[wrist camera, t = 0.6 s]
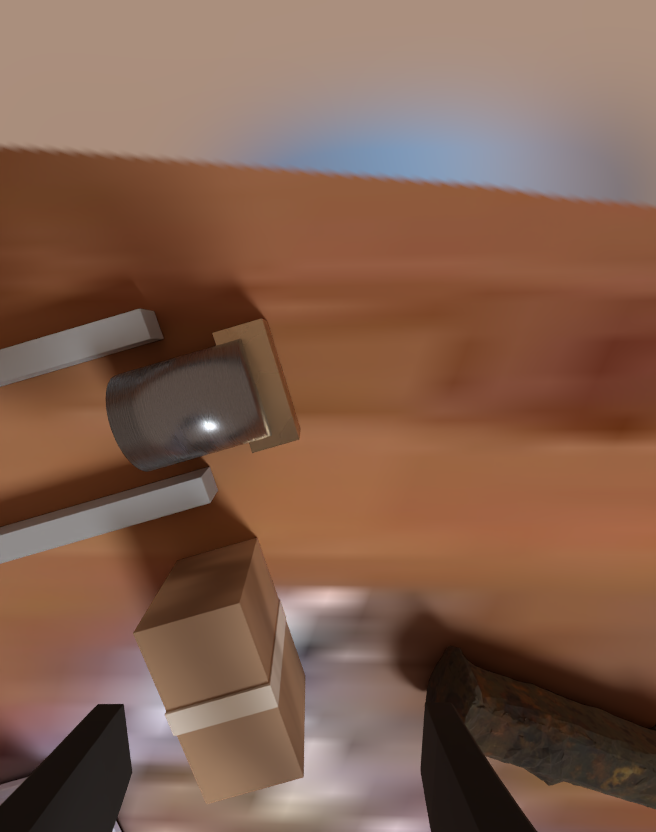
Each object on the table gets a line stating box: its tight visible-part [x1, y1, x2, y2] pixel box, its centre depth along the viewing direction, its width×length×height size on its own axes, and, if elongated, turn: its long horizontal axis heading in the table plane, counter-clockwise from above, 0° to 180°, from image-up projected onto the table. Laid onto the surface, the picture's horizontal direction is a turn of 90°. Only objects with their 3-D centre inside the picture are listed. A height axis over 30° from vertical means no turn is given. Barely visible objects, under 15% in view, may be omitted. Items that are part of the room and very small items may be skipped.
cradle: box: [0, 309, 218, 563], centre depth 18 cm, size 14×8×2 cm, turn 106°
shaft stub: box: [106, 319, 300, 471], centre depth 16 cm, size 6×5×4 cm
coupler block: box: [133, 538, 305, 804], centre depth 18 cm, size 4×8×5 cm, turn 16°
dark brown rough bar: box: [426, 646, 656, 809], centre depth 20 cm, size 19×4×5 cm, turn 65°
